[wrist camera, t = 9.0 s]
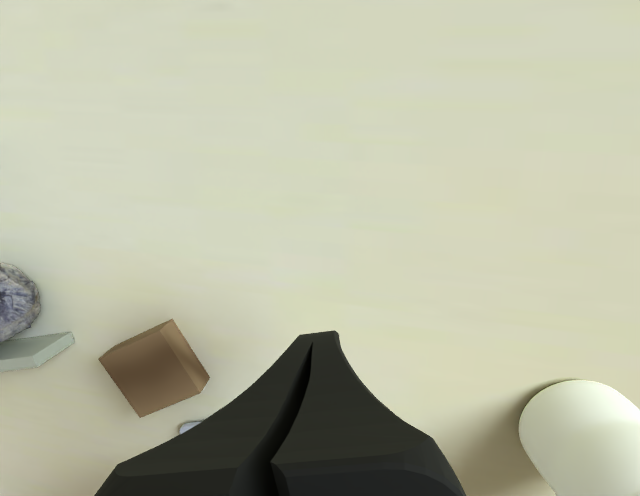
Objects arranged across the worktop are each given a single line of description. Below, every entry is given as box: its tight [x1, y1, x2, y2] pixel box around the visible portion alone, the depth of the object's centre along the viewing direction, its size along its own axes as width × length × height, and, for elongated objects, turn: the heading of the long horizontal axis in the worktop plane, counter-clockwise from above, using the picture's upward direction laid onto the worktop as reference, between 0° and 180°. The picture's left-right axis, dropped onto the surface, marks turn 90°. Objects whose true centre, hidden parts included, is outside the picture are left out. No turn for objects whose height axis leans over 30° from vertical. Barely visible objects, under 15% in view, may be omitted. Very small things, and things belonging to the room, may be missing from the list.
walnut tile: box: [99, 319, 210, 418], centre depth 23 cm, size 5×5×2 cm
